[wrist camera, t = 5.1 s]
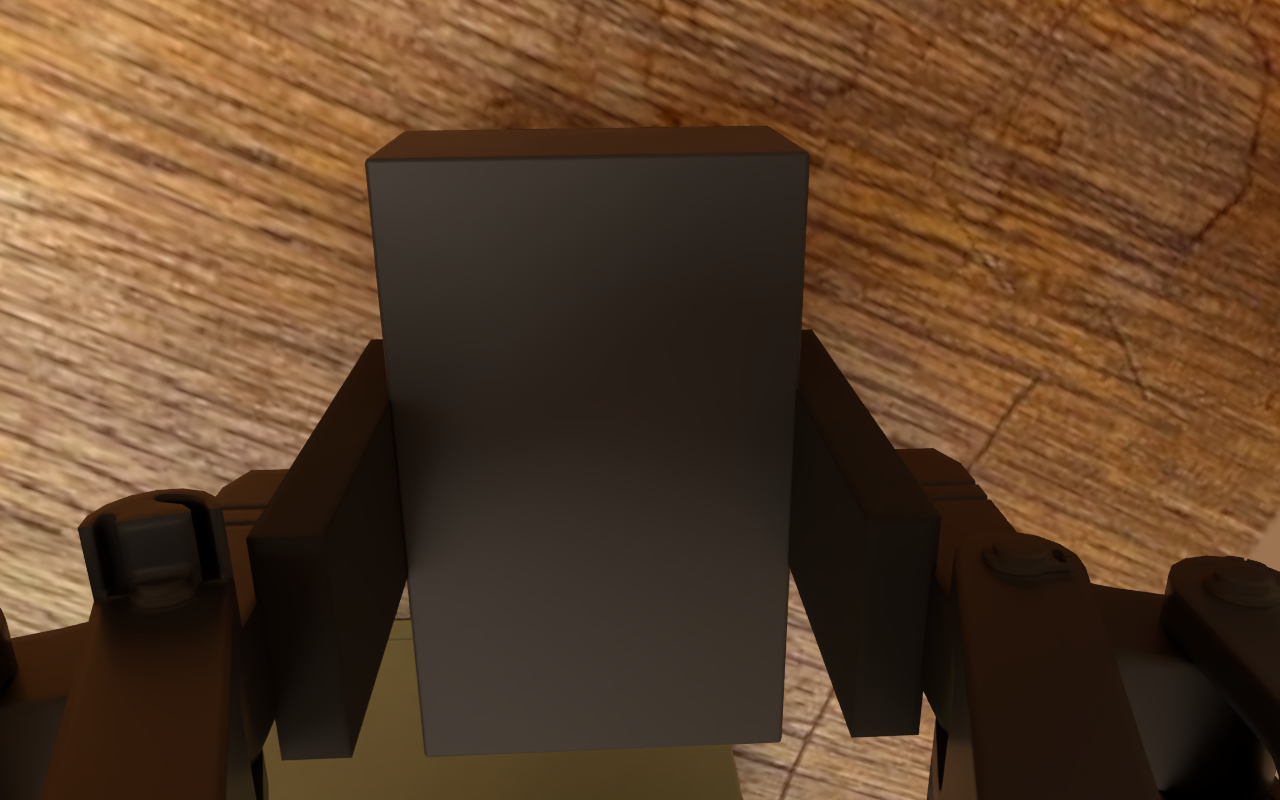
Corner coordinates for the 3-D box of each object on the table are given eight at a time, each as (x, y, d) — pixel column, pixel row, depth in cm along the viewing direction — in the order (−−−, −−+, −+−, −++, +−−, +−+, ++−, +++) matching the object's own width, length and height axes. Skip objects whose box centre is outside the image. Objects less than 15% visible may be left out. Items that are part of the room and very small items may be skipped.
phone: (770, 125, 16) (811, 151, 13) (752, 634, 19) (782, 744, 16) (402, 130, 16) (363, 159, 13) (447, 646, 19) (424, 759, 16)
